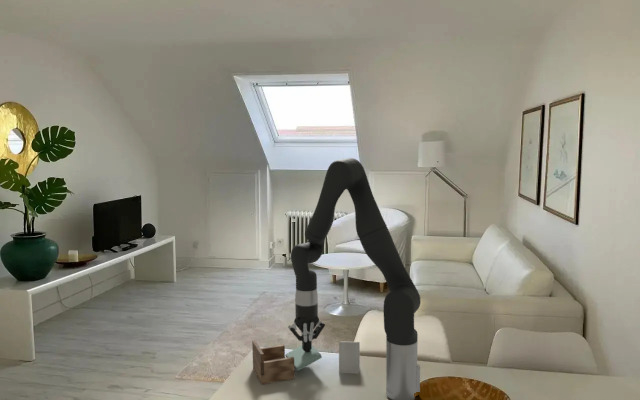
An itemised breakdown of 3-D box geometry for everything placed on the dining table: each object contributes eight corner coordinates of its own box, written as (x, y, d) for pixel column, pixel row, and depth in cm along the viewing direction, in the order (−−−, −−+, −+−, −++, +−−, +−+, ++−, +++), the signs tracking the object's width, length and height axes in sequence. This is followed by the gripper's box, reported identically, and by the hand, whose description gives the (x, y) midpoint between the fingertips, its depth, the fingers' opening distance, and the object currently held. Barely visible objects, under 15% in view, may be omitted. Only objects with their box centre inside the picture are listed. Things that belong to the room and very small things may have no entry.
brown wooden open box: (284, 364, 176) (283, 336, 175) (294, 378, 165) (294, 349, 164) (253, 369, 172) (252, 340, 171) (261, 384, 161) (260, 354, 160)
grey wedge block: (359, 373, 168) (359, 344, 167) (339, 372, 169) (338, 343, 168) (359, 368, 172) (359, 340, 171) (339, 367, 172) (339, 339, 171)
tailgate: (285, 357, 176) (310, 344, 179) (296, 371, 165) (322, 357, 167) (284, 354, 176) (309, 341, 178) (295, 368, 164) (320, 354, 167)
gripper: (290, 307, 164) (291, 358, 166) (328, 302, 169) (329, 352, 171) (284, 300, 171) (285, 349, 173) (321, 296, 176) (321, 344, 178)
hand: (307, 351), depth 172 cm, fingers closed
